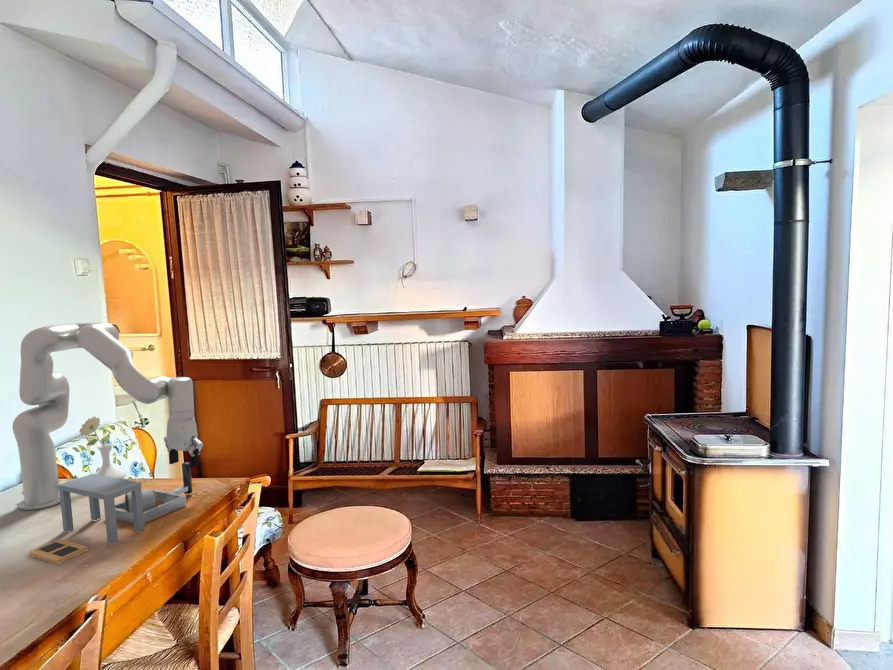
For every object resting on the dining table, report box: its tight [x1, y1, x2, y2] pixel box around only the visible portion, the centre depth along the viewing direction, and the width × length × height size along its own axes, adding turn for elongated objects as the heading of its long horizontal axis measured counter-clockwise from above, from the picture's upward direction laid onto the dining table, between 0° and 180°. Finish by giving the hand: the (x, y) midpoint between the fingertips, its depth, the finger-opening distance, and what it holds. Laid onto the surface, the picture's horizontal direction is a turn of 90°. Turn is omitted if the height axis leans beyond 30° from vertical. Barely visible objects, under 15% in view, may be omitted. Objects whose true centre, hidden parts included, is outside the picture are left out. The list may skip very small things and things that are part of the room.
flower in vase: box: [78, 416, 127, 480], centre depth 201 cm, size 13×11×25 cm
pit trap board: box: [28, 538, 89, 565], centre depth 149 cm, size 12×8×1 cm, turn 64°
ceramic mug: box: [124, 489, 159, 512], centre depth 173 cm, size 11×8×8 cm
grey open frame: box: [115, 461, 193, 525], centre depth 178 cm, size 15×24×10 cm, turn 154°
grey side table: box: [58, 473, 146, 545], centre depth 161 cm, size 22×10×14 cm, turn 64°
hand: (184, 465), depth 187 cm, fingers open, 9 cm apart
